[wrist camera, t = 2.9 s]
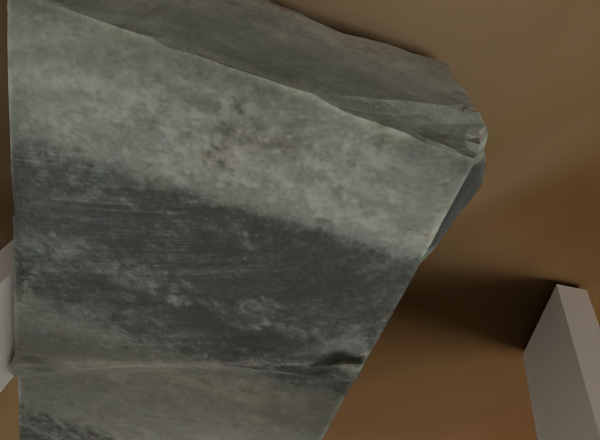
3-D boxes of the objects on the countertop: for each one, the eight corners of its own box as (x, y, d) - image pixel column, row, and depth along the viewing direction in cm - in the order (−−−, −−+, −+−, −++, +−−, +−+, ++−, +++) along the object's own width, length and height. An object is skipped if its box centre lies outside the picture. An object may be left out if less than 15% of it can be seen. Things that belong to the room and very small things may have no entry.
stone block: (522, 75, 12) (574, 196, 8) (327, 429, 20) (300, 581, 16) (141, -59, 12) (-20, -13, 8) (103, 349, 20) (16, 479, 16)
